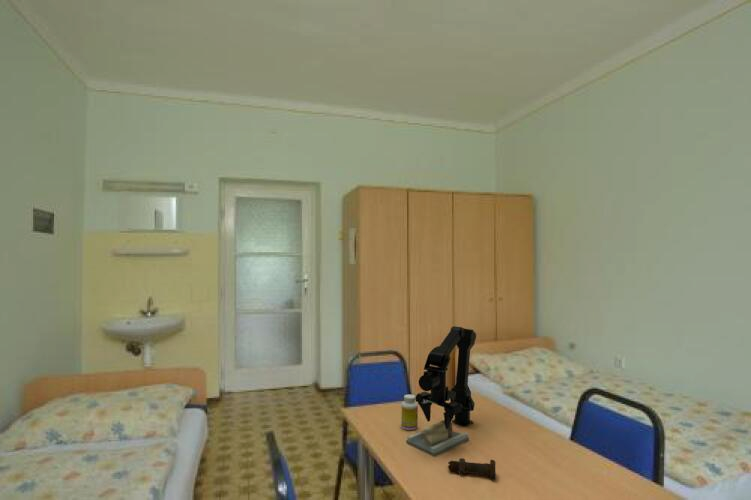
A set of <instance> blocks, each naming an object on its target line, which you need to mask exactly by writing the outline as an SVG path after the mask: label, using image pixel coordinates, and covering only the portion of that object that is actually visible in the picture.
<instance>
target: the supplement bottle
mask: <svg viewBox="0 0 751 500" xmlns="http://www.w3.org/2000/svg"><path fill="white" fill-rule="evenodd" d="M403 400H404V401H402V402H401V417H400V418H401V420H400V421H401V425H400V427H401V429H403V430H406V431H414V430H416V429H417V428H418V426H419V425H418V412H419V409H418V407H419V404H418V402H416V396H415V395H414V394H405V395H404V396H403Z"/></svg>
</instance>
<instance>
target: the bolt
mask: <svg viewBox="0 0 751 500" xmlns="http://www.w3.org/2000/svg"><path fill="white" fill-rule="evenodd" d="M489 460H490V461H489V463H488V462H487V463H481V462H469V461H466V459H465V458H463V457H460V458H459V459H458V460H450V461H448V466H447V469H448V470H449V471H451V472H459V474H458V475H462V476H465V475H466V473H471V474H480V475H485V476H490V480H496V478H497V476H496V460H495V459H489Z"/></svg>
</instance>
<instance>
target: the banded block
mask: <svg viewBox="0 0 751 500" xmlns="http://www.w3.org/2000/svg"><path fill="white" fill-rule="evenodd" d="M423 430H424V432H423V442H425V443H427V444H429V445H431V446H432V445H434V444H436V443H438V442H440V441H443V440H445V439H447V438H450V437H452V431H453V422H451V424H450V426H449V429H446V427H445V420H444V419H443V420H441V421H439V422H435V423H433V424H431V425H428V426H426V427H424V428H423Z"/></svg>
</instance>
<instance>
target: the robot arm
mask: <svg viewBox="0 0 751 500" xmlns="http://www.w3.org/2000/svg"><path fill="white" fill-rule="evenodd" d="M476 339H477V333H476V332H475V330H474V329H472V328H471V329H470V328H465V327H462V326H451V328H450V331H449V332H448V333H447V335H446V337H445V338H444V340H443V341H442V342H441V344H439V345H438V346H436V347H434V348H433V349H432V350H431V351H430V352H429V353H428V355H427V358H426V361H425V364H424V367H423V370H424V371H423V375H421V376H420V377H419V378H418V385H419V388H420V389H421V390H422V392H418V393H417V394H416V396H415V402H416V403H417V404H418V406H419V407H420V408H421V410H422V412H423V414H424V418H425V419H426V422H428V423H429V422H430V421H431V413H432V411H431V408H432V404H433V405H436V406H439V407H442V408H443V411H444V412H443V417H444V419H443V420H445V427H446V429H449V426H450V424H451V423H454V424H457V425H459V426H462V427H465V426H468V425H471V424H473V423H474V421H473V420H471V411H473V412H474V411H475V410H474V409H475V406H476V405H475V402H474V400H473V398H472V391H471V389H470V387H469V385H468V383H469V371H470V357H471V355H470V354H471V351H472V348H473V347H474V346H475V343H476ZM456 346H457V348H458V351H457V352H458V354H457V364H456V365H457V368H456V381H455V385H454V386H453V387H452V388H451V389H449V386H447V371H448V370H449V368H448V367H449V364H450V361H451V353H452V352H453V351H454V349H455V347H456ZM429 391H430V392H429Z"/></svg>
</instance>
